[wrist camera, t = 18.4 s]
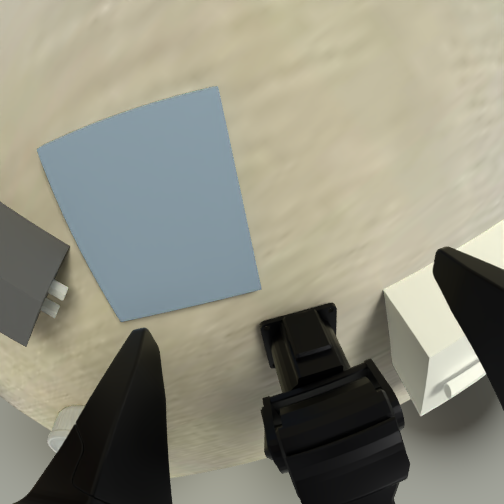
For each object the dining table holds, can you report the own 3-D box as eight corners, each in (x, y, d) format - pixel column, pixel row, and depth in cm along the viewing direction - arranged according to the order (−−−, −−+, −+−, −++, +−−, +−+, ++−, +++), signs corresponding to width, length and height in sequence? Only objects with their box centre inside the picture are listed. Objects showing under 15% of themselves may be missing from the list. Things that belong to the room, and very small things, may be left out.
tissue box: (524, 274, 33) (567, 321, 24) (391, 362, 35) (428, 432, 26) (539, 192, 25) (601, 240, 16) (381, 287, 27) (443, 380, 18)
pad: (259, 280, 24) (261, 289, 23) (122, 312, 23) (120, 322, 22) (216, 85, 16) (218, 86, 15) (43, 144, 15) (36, 149, 14)
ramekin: (37, 405, 30) (30, 440, 25) (94, 392, 29) (89, 433, 24) (93, 441, 36) (91, 471, 32) (151, 431, 35) (152, 466, 31)
